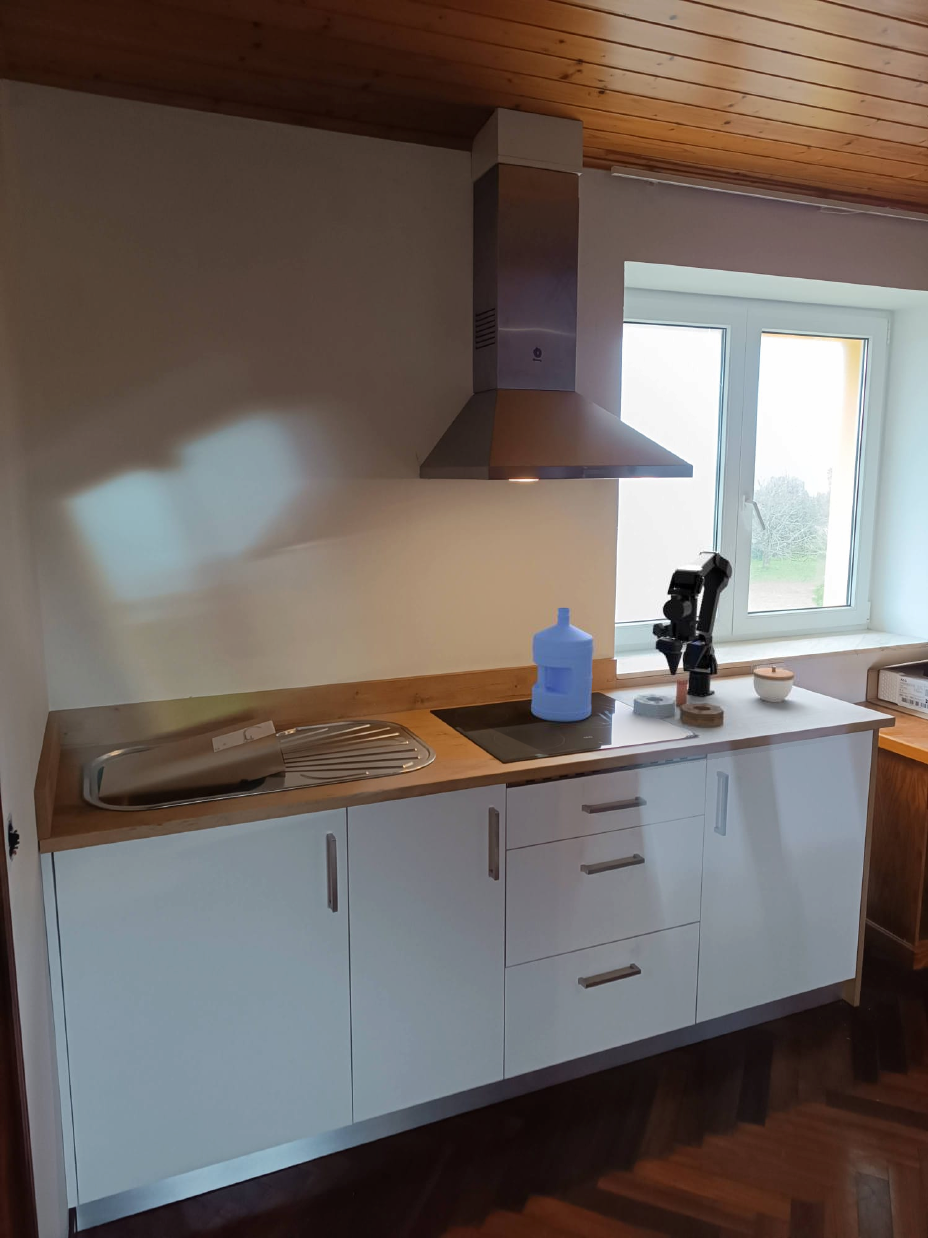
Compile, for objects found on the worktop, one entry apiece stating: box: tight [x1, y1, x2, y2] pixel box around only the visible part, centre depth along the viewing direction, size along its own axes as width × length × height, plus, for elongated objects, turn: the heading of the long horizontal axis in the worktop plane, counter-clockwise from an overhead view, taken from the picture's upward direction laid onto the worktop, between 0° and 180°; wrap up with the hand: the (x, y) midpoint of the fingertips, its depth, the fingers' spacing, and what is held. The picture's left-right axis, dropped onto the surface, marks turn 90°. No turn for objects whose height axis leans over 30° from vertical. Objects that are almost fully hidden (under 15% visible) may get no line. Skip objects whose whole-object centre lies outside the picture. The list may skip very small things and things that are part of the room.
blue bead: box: [632, 693, 676, 719], centre depth 226 cm, size 10×10×4 cm
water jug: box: [530, 607, 594, 723], centre depth 221 cm, size 16×16×28 cm
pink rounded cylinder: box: [675, 678, 689, 708], centre depth 232 cm, size 3×3×7 cm
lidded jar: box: [752, 665, 795, 703], centre depth 239 cm, size 11×11×9 cm
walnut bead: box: [679, 702, 725, 728], centre depth 218 cm, size 10×10×4 cm
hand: (682, 672), depth 231 cm, fingers open, 9 cm apart
